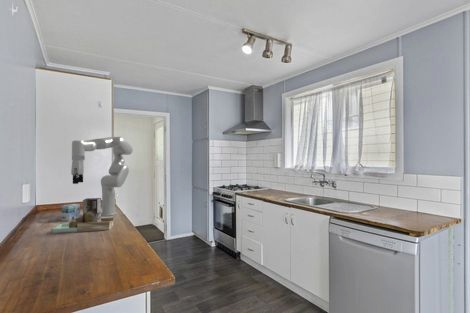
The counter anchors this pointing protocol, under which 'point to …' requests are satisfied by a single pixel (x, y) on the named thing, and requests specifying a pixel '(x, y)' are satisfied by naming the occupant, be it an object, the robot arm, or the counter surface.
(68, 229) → the tray
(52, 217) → the counter surface
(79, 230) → the channel
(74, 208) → the light bulb box
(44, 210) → the counter surface
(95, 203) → the coffee box
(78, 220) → the brown cube
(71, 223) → the chip
